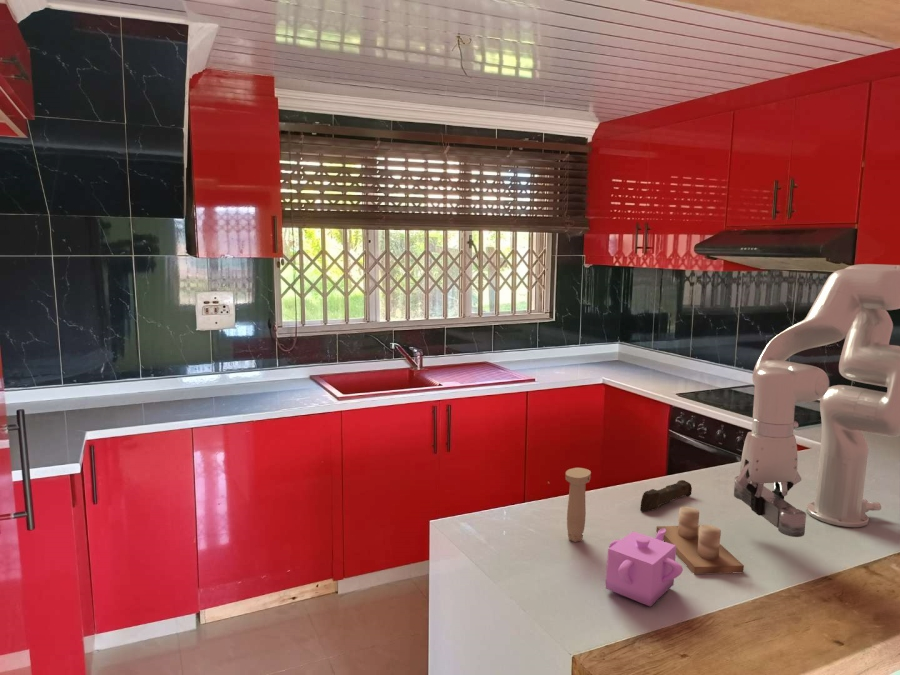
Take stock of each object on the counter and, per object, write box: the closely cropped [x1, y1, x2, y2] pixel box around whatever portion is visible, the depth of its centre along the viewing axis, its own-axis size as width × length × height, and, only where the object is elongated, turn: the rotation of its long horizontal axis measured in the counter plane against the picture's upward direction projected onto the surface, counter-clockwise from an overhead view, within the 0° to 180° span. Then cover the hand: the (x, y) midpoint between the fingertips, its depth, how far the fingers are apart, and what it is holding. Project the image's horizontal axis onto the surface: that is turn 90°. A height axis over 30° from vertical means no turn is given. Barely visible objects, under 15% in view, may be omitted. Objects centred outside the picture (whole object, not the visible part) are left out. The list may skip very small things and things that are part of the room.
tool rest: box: [655, 506, 745, 575], centre depth 132 cm, size 10×18×7 cm, turn 5°
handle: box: [565, 467, 592, 543], centre depth 136 cm, size 5×6×15 cm
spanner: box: [733, 475, 807, 538], centre depth 133 cm, size 5×21×4 cm, turn 5°
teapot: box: [605, 529, 684, 607], centre depth 116 cm, size 18×14×10 cm
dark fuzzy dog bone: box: [639, 479, 693, 512], centre depth 158 cm, size 19×4×5 cm, turn 126°
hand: (766, 511), depth 133 cm, fingers closed on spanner, 3 cm apart
